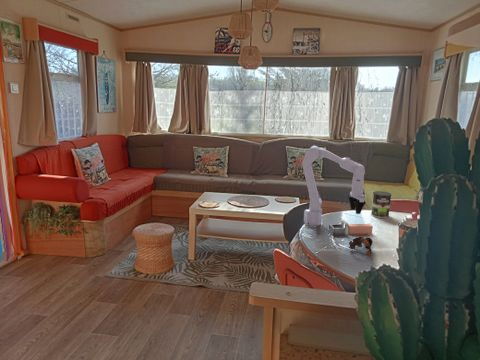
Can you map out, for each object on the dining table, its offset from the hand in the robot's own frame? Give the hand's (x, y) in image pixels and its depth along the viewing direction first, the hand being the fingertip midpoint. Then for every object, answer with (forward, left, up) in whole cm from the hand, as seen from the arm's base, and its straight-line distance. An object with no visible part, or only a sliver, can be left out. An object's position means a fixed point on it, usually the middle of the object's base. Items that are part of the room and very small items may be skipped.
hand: (355, 211), depth 191 cm
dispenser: (-6, -8, -10) cm, 14 cm away
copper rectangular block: (0, -8, -9) cm, 12 cm away
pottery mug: (-8, -30, -10) cm, 32 cm away
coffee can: (+25, +23, -10) cm, 35 cm away
